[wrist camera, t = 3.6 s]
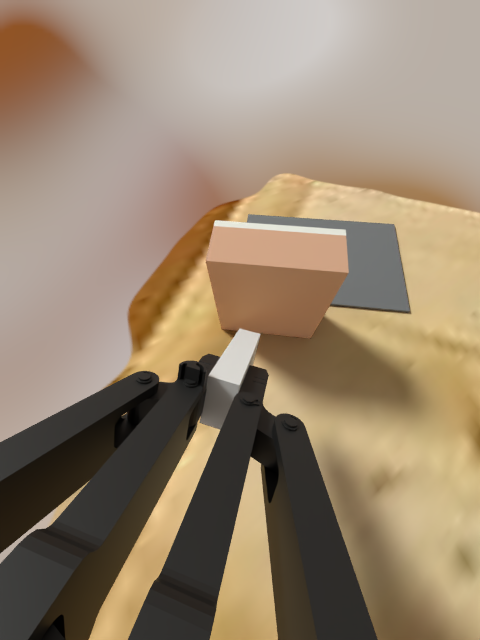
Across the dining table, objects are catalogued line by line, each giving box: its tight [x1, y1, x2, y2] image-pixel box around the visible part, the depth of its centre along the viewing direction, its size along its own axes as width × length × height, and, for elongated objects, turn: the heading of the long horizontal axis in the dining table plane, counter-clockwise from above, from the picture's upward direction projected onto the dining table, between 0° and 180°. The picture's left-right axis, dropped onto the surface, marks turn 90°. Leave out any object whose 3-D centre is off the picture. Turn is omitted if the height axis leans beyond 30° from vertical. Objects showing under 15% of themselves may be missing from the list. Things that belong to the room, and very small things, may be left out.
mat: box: [247, 214, 410, 312], centre depth 33 cm, size 14×20×1 cm
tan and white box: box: [206, 220, 349, 339], centre depth 24 cm, size 4×10×12 cm, turn 83°
